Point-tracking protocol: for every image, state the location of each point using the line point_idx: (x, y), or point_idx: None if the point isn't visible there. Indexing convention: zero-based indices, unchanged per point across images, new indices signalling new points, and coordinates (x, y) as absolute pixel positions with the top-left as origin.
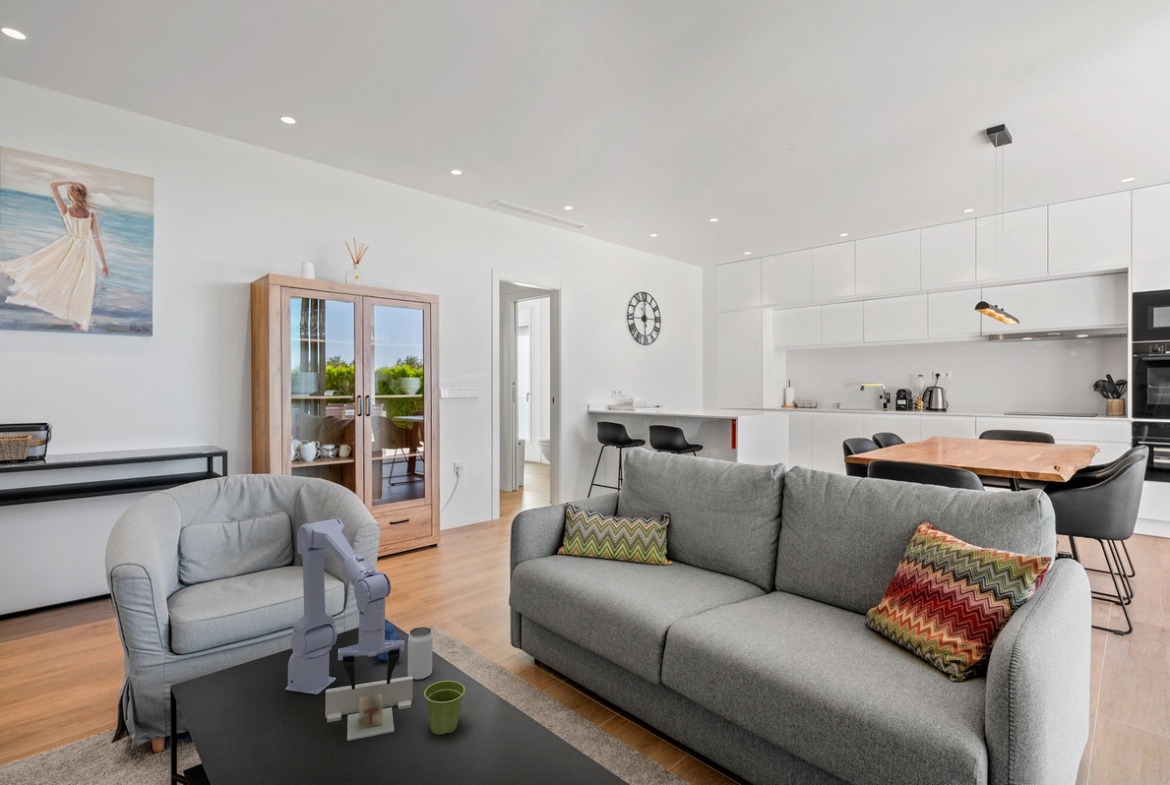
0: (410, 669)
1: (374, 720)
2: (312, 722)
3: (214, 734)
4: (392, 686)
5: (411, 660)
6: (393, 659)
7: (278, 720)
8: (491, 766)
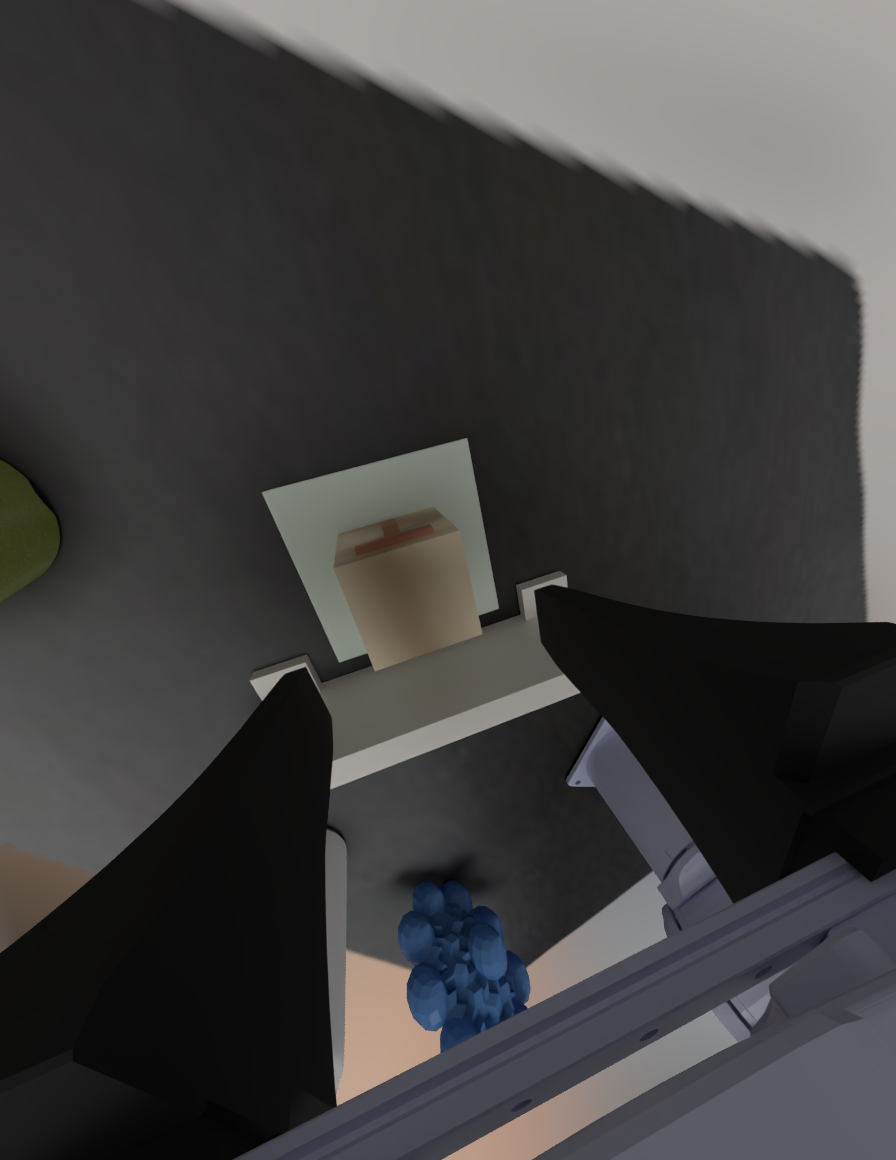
0: (325, 864)
1: (372, 531)
2: (604, 571)
3: (838, 518)
4: (340, 739)
5: None
6: (6, 1002)
7: (696, 583)
8: None
